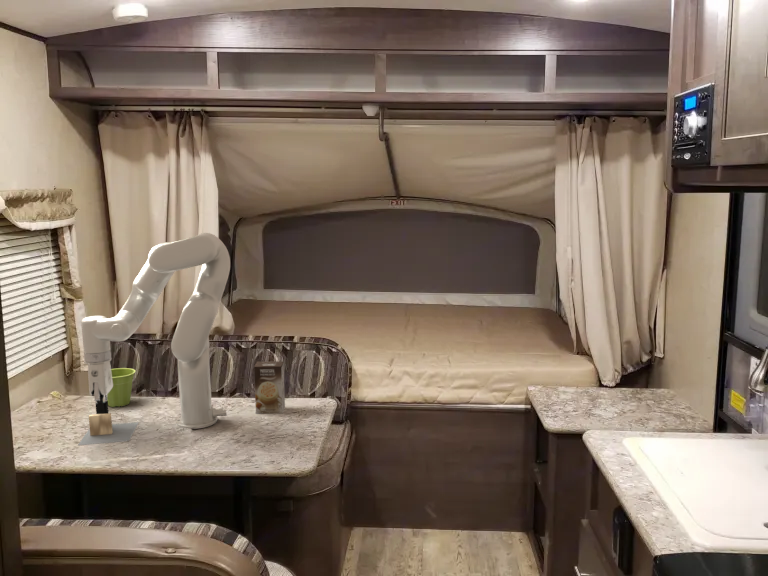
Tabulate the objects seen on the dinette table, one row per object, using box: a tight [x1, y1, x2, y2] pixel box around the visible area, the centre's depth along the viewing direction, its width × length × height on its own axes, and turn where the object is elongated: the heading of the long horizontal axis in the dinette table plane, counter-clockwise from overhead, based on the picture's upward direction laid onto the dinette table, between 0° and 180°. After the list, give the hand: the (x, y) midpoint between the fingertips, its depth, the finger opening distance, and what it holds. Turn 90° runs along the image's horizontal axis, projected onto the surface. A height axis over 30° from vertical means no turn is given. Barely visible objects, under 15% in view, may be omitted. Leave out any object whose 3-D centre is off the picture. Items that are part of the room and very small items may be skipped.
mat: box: [77, 421, 139, 446], centre depth 198 cm, size 14×16×1 cm
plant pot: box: [107, 367, 136, 408], centre depth 226 cm, size 12×12×11 cm
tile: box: [88, 412, 113, 436], centre depth 197 cm, size 6×2×6 cm
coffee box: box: [253, 361, 286, 415], centre depth 216 cm, size 9×6×16 cm
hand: (102, 414), depth 203 cm, fingers closed
